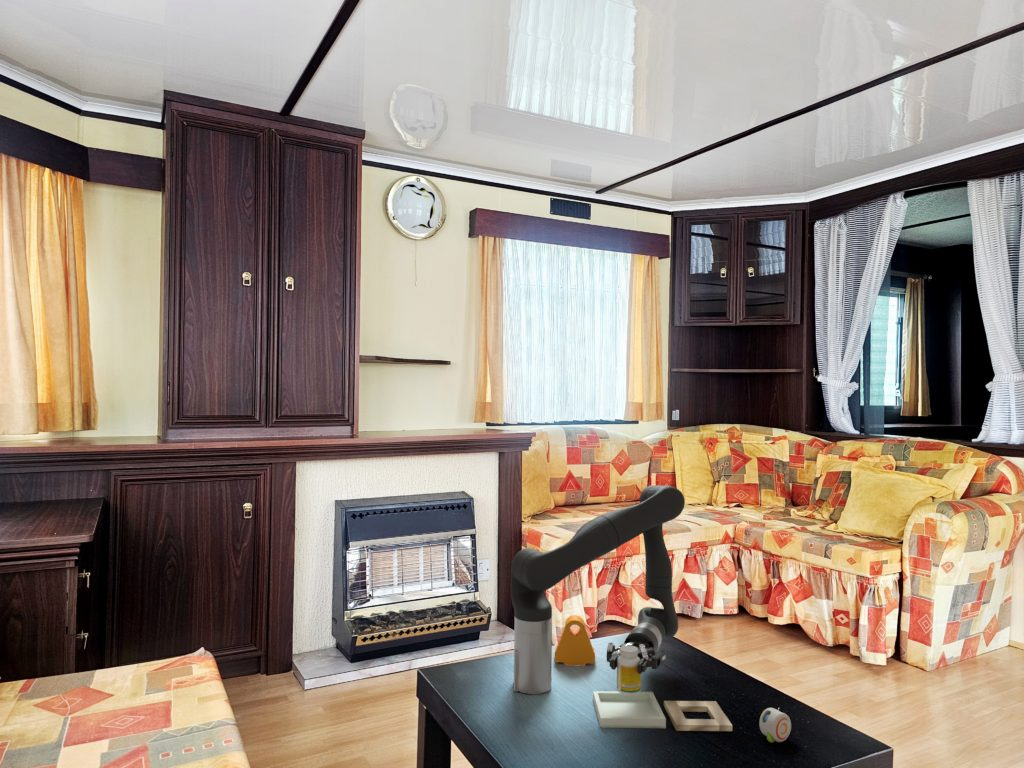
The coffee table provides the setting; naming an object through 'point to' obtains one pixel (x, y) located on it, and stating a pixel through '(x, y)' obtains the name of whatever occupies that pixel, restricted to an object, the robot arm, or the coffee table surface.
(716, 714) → the holder board
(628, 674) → the supplement bottle
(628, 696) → the tray
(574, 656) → the bracket
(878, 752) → the coffee table surface
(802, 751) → the coffee table surface
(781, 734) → the roller toy
